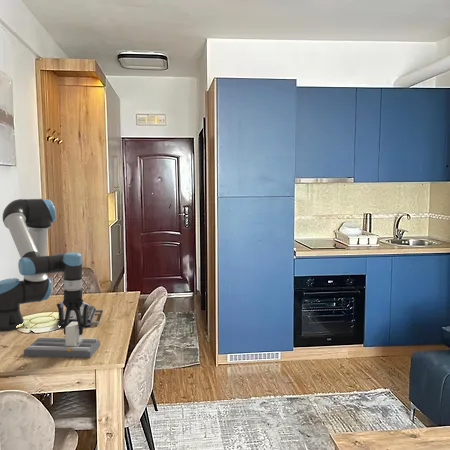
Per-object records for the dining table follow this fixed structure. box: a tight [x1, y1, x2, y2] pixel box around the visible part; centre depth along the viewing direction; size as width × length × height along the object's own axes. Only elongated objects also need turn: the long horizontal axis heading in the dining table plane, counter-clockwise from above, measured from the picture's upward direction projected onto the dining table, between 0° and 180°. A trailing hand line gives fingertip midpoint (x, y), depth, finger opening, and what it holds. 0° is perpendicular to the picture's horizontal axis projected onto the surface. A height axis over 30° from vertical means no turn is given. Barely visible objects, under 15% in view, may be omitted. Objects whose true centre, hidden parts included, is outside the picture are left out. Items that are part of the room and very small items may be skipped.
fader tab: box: [63, 322, 83, 347], centre depth 196 cm, size 6×8×9 cm
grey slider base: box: [23, 336, 101, 359], centre depth 197 cm, size 28×14×4 cm, turn 89°
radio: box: [57, 305, 104, 329], centre depth 239 cm, size 24×5×20 cm
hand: (73, 341), depth 196 cm, fingers closed on fader tab, 4 cm apart
